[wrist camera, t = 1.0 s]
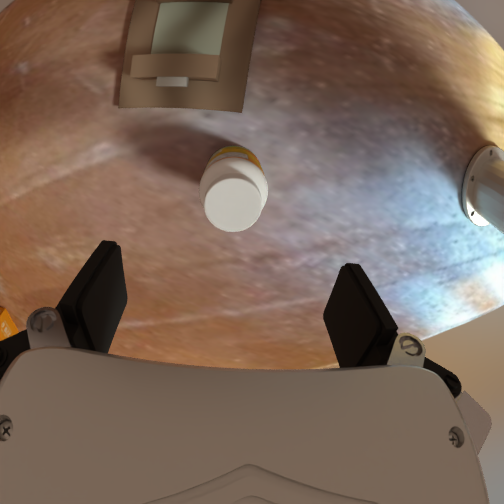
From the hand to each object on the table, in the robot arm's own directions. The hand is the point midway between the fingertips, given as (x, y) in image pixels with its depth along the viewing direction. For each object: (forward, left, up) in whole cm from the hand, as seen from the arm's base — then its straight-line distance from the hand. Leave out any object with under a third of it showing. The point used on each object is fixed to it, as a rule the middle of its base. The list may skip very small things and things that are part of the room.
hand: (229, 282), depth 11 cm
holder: (+6, -14, -18) cm, 24 cm away
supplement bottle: (0, 0, -18) cm, 18 cm away
